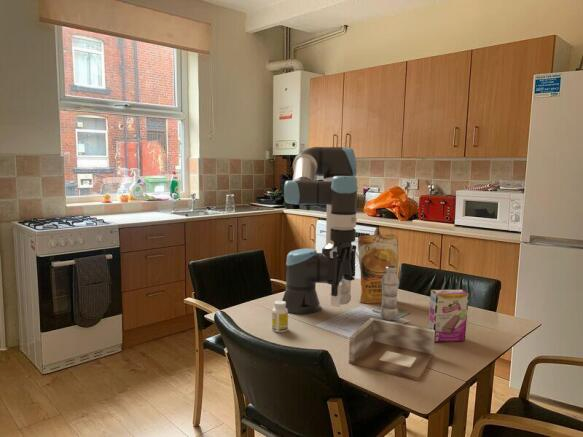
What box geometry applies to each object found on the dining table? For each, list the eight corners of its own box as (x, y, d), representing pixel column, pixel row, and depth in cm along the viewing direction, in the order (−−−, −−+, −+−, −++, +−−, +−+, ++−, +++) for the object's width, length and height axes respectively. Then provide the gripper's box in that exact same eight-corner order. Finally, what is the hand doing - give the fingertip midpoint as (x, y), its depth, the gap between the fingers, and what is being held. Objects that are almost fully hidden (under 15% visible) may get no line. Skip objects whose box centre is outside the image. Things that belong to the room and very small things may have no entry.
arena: (348, 363, 126) (349, 336, 125) (370, 341, 141) (371, 317, 140) (418, 381, 116) (420, 352, 115) (433, 355, 131) (434, 330, 130)
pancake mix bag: (352, 299, 184) (354, 234, 181) (394, 297, 189) (397, 233, 185) (358, 304, 178) (361, 237, 174) (401, 302, 182) (404, 236, 179)
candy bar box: (433, 343, 141) (436, 294, 139) (426, 337, 146) (429, 289, 144) (466, 342, 142) (469, 293, 140) (458, 335, 147) (461, 288, 145)
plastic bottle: (387, 323, 157) (390, 269, 155) (375, 317, 163) (378, 265, 160) (401, 321, 160) (404, 267, 157) (389, 315, 166) (391, 263, 163)
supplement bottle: (289, 328, 152) (290, 300, 150) (284, 333, 147) (284, 305, 145) (275, 326, 153) (275, 299, 152) (269, 331, 148) (269, 303, 147)
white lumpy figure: (354, 305, 131) (355, 280, 130) (334, 308, 129) (334, 281, 128) (346, 300, 136) (347, 275, 135) (327, 302, 134) (327, 277, 133)
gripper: (338, 232, 120) (336, 314, 123) (368, 225, 135) (365, 298, 138) (315, 230, 124) (313, 308, 127) (347, 223, 140) (344, 293, 142)
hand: (340, 302), depth 133 cm, fingers closed on white lumpy figure, 6 cm apart
